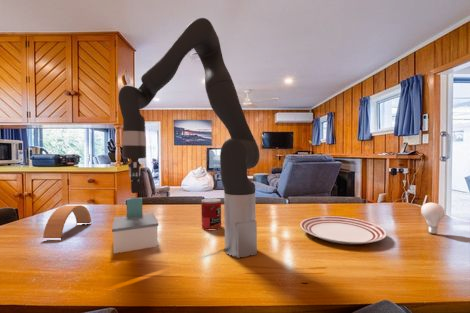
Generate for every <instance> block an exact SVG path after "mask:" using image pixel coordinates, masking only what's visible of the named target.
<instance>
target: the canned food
mask: <svg viewBox="0 0 470 313" xmlns="http://www.w3.org/2000/svg"><path fill="white" fill-rule="evenodd" d="M200 204H201V205H200V206H201V209H200V210H201V228H202V229H203V228H204V229H203V230H205V229H217V230H219V229H221V228H220V227H222V201H221V199H220V198H214V197H211V198H204V199H201V203H200ZM218 228H219V229H218Z"/></svg>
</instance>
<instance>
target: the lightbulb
mask: <svg viewBox="0 0 470 313" xmlns="http://www.w3.org/2000/svg"><path fill="white" fill-rule="evenodd" d="M420 212H421V215H422V216H423V218H424V219H425V221H426V224H427V232H428V233H430V234H431V235H436V234H438V233H439V232H438V229H439V228H438V227H439V224H440V222H441V220H442V219H443V218H444V217H445V215H446V214H445V209H444V207H443V206H442V205H440V204H439V203H436V202H426V203H424V204H423V205H422V206H421V208H420Z"/></svg>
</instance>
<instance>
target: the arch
mask: <svg viewBox="0 0 470 313" xmlns="http://www.w3.org/2000/svg"><path fill="white" fill-rule="evenodd" d="M71 213H73V215H74V218H75V220H76V221H75V222H76V224H77V223H90V222H91V223H92V218H91V214H90V211H89V210H88V208H87V207H86V206H85V205H78V204H77V205H62V206H60V207H58V208H56V210H54V211H53V212H52V213H51V215H50V216H49V218H48V220H47V222H46V225H45V226H44V230H43V235H42V239H43V238H61V237H62V238H63V232H64V227H65V223H66V221H67V220H68V218H69V217H70V215H71Z"/></svg>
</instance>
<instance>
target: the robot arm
mask: <svg viewBox="0 0 470 313" xmlns="http://www.w3.org/2000/svg"><path fill="white" fill-rule="evenodd" d="M192 50H194V51H195V53H196V54H197V56H198V57H199V59H200V62H201V64H202V66H203V69H204V87H205V88H204V89H205V93H206V95H207V98H208V102H209V104H210V107H211V109H212V111H213V112H214V114H215V115H216V117H218V119H219V120H220V121H221V123H222V124H223V125H224V127H225V128H226V129H227V131H228V133H229V134H228V135H229V136H230V138H228V139H227V140H225V141H224V142H223V144H222V145H221V149H220V151H219V152H220V153H219V162H220V163H219V164H220V178H221V183H222V186H223V189H224V190H223V196H224V198H223V199H224V200H223V201H224V203H223V204H224V205H223V206H224V208H223V209H224V210H223V214H224V216H223V217H224V252H225V254H227V255H228V254H229V256H231V255H232V256H231V257H235V256H236V257H235V258H237V259H240V257H242V258H246V257H250V255H251V256H255V255H257V254H258V230H257V229H258V228H257V226H258V224H257V221H256V218H257V217H256V216H257V215H256V184H255V182H253V181H252V180H250V179H249V177H248V170H250V169H254V168H255V167H256V166H257V165H258V163H259V161H260V149H259V146H258V144H257V140H256V139H255V137H254V135H253V133H252V131H251V129H250V127H249V124H248V122H247V119H246V116H245V113H244V110H243V108H242V105H241V101H240V99H239V95H238V91H237V89H236V86H235V84H234V82H233V79H232V76H231V74H230V72H229V70H228V68H227V65H226V64H225V61H224V57H223V53H222V49H221V43H220V38H219V36H218V34H217V32H216V29H215V28H214V26H213V24H212V23H211V20H209V19H207V18H205V17H198V18H195V19H194V20H193V21H192V22H190V23H189V24H188V25H187V26H186V28H184V30H183V31H182V32H181V34H180V35H179V36H178V37H177V39H176V40H175V41H174V42H173V43H172V45H171V46H170V47H169V49H167V51H166V52H165V54H164V55H163V56H162V57H161V58H160V59H159V60H158V61H157V62H156V63H155V64H154V65H152V67H150V68H149V69H148V70H147V71H146V72H145V73H143V74H142V76H141V77H140V81H141V82H142V84H141V85H140V86H139V87H136V86H135V85H132V84H125V85H123V86H122V87H121V88H120V90H119V92H118V98H117V99H118V105H119V108H120V112H121V116H122V120H123V121H122V138H121V139H122V145H121V146H122V158H123V159H127V160H128V159H130V162H129V163H128V165H127V166H128V175H129V178H130V189H131V190H130V191H131V193H132V194H137V193H139V190H140V187H139V182H140V180H141V179H140V176H141V169H142V164H141V163H140V161H139V159H146V158H147V138H146V121H145V116H143V115H142V114H141V112H140V110H143V109H144V108H146V107H147V106H148V105H150V103H151V102H152V101H153V99H154V98H155V97H156V95H157V93H158V92H159V91H160V90H162V89H163V88H164V87H165V86H166V85H168V83H169V82H171V81H172V79H173V78H175V75H176V74H177V71H178V70H179V68H180V65H181V64H182V62H183V60H184V58H185V57H186V56H187V55H188V54H189V53H190V52H191V51H192Z"/></svg>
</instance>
